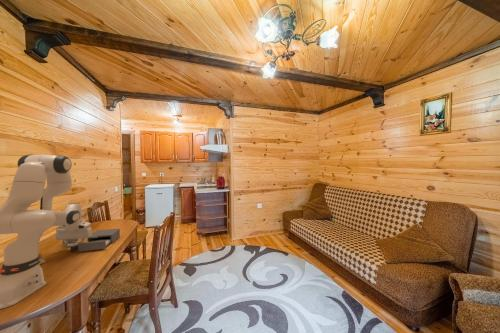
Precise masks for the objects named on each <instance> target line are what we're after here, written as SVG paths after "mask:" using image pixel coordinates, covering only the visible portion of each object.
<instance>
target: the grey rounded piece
mask: <svg viewBox="0 0 500 333" xmlns="http://www.w3.org/2000/svg"><path fill="white" fill-rule="evenodd" d="M69 248H70V252H71V253H72V252H73V253H74V252H77V251H78V245H77V246H74V247H69Z"/></svg>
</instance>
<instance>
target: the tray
mask: <svg viewBox="0 0 500 333" xmlns="http://www.w3.org/2000/svg"><path fill="white" fill-rule="evenodd" d="M110 242H111V239H104V240H92V241H90V242H88V241H86V242H85V241H83V243H78V250H77V251H78V252H83V251H95V250H96V251H97V250H104V249H106V248H107V247H106V246H108V245H110V244H109V243H110Z"/></svg>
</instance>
